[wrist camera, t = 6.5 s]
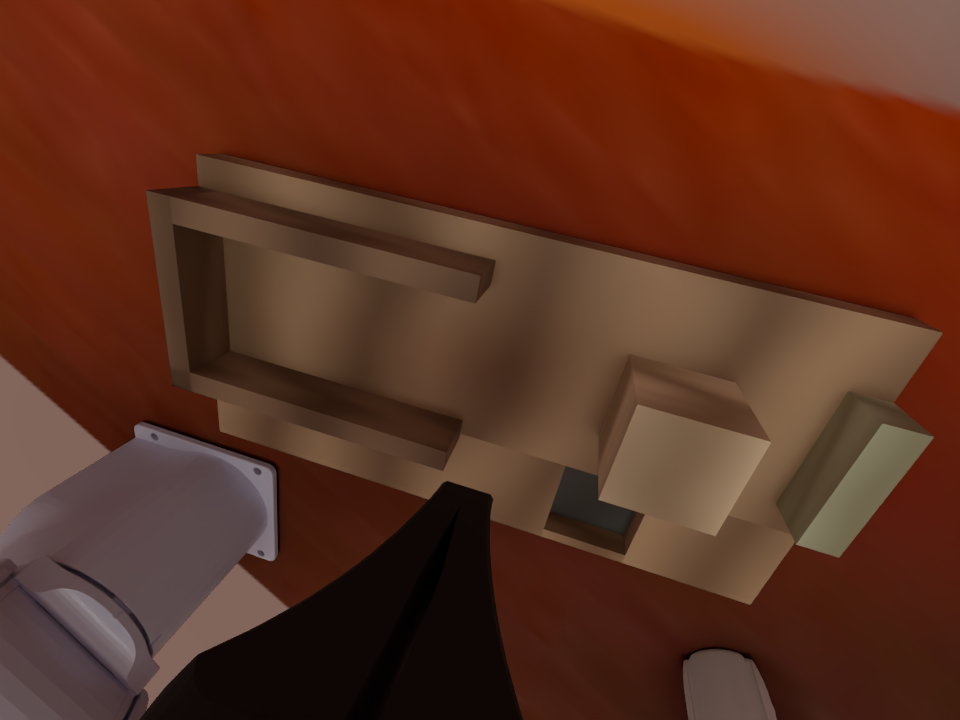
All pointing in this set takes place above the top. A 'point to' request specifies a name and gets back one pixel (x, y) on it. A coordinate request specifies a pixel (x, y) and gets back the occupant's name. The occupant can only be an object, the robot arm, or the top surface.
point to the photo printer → (725, 687)
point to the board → (577, 376)
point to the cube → (678, 445)
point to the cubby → (273, 388)
